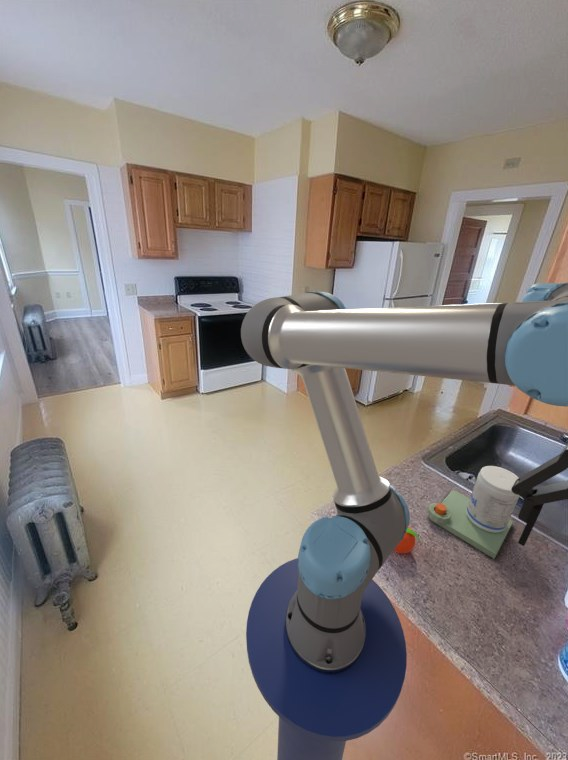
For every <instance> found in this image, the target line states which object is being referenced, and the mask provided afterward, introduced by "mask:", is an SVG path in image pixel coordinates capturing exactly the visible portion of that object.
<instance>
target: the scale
mask: <svg viewBox="0 0 568 760" xmlns="http://www.w3.org/2000/svg"><path fill="white" fill-rule="evenodd" d="M469 499H470V497H468V496H466V495H464V494H463V493H460V492H458V491H457V490H454V489H451V491H450V492H449V493H448V495H447V496H446V497H445V498H444V499H443V500H442V501H441V504H443V505H445V506H446V508H447V509H446V513H445V515H439V514H437V513H436V512H435V507H436V504H438V503H439V502H434V503H430V505H429V506H428V509H427V515H428V516H429V520H430V521H431V522H432V523H435V524H436V525H437V526H439V527H441V528H442V529H444V530H446V531H447V532H449V533H451V534H452V535H454V536H456V537H457V538H459V539H460V540H462V541H464V542H466V544H467V543H468V544H469V545H470V546H471V547H474V548H476V549H477V550H479V551H480V552H482V553H484V554H485V555H487V556H489V557H491V558H492V559H496V557H497V555H498V553H499V551H500V549H501V547H502V545H503V543H504V542H505V539H506V538H507V536H508V534H509V532H510V530H511V528H512V526H513V523H514V520H512V519H511V518H510V519H509V521H508V524H507V526H506V528H505V529H504V530H503V531H502V532H498V533H493V532H488V531H485V530H483V529H481V528H479V527H477V526H476V525H474V524H473V523H472V522H471V521H470V519H469V518H468V516H467V514H466V508H467V505H468V502H469Z"/></svg>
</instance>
